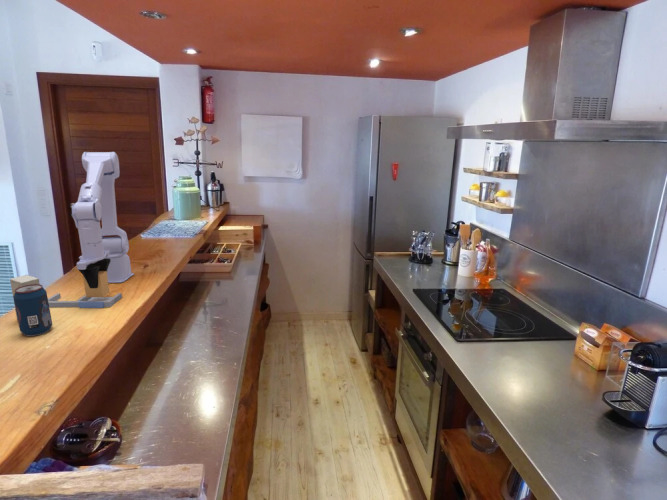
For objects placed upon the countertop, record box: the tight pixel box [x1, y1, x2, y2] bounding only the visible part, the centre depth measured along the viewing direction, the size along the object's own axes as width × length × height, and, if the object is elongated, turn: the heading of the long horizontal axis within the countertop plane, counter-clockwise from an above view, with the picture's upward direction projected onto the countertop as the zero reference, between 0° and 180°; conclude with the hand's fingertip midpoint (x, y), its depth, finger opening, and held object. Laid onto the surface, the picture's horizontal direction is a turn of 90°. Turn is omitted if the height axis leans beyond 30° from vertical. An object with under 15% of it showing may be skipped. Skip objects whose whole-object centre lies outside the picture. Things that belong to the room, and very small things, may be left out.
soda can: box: [12, 283, 53, 337], centre depth 107 cm, size 7×7×12 cm
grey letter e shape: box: [48, 292, 123, 309], centre depth 127 cm, size 8×20×2 cm, turn 92°
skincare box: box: [9, 274, 40, 321], centre depth 113 cm, size 6×4×12 cm
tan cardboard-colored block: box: [82, 271, 111, 297], centre depth 127 cm, size 4×5×7 cm
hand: (97, 285), depth 127 cm, fingers closed on tan cardboard-colored block, 4 cm apart
